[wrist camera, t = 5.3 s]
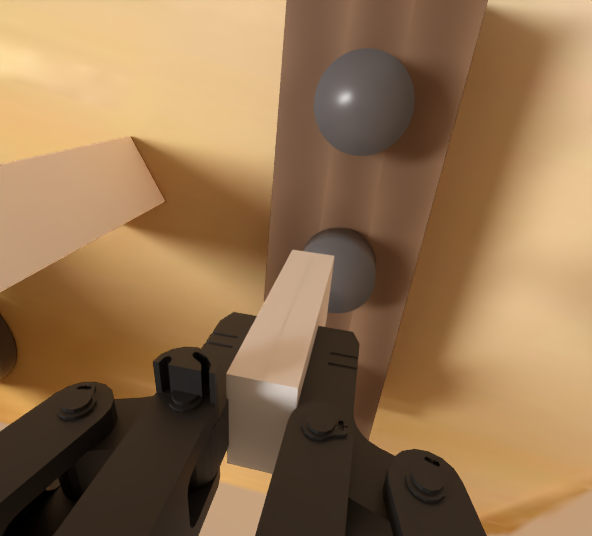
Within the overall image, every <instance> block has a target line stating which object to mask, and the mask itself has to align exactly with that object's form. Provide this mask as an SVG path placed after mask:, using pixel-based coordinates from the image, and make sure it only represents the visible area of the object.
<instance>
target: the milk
mask: <svg viewBox="0 0 592 536" xmlns="http://www.w3.org/2000/svg"><path fill="white" fill-rule="evenodd" d="M164 202H165V200H164V198H163V196H162V194H161V192H160V191H159V189H158V187H157V185H156V183H155V181H154V179H153V178H152V176H151V174H150V172H149V170H148V168H147V166H146V165H145V163H144V161H143V159H142V157H141V155H140V153H139V152H138V150H137V148H136V146H135V144H134V142H133V140H132V139H131V137H130V136H126V137H122V138H117V139H112V140H108V141H103V142H99V143H94V144H90V145H85V146H81V147H76V148H71V149H67V150H62V151H58V152H53V153H49V154H44V155H40V156H35V157H31V158H26V159H21V160H17V161H12V162H8V163H3V164H0V292H2V291H4V290H6V289H7V288H9V287H11V286H13V285H15V284H16V283H18V282H20V281H22V280H24V279H26V278H27V277H29V276H31V275H33V274H35V273H36V272H38V271H40V270H42V269H44V268H46V267H47V266H49V265H51V264H53V263H55V262H56V261H58V260H60V259H62V258H64V257H66V256H67V255H69V254H71V253H73V252H75V251H76V250H78V249H80V248H82V247H84V246H85V245H87V244H89V243H91V242H93V241H95V240H96V239H98V238H100V237H102V236H104V235H105V234H107V233H109V232H111V231H113V230H115V229H116V228H118V227H120V226H122V225H124V224H125V223H127V222H129V221H131V220H133V219H135V218H136V217H138V216H140V215H142V214H144V213H145V212H147V211H149V210H151V209H153V208H155V207H156V206H158V205H160V204H162V203H164Z"/></svg>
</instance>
